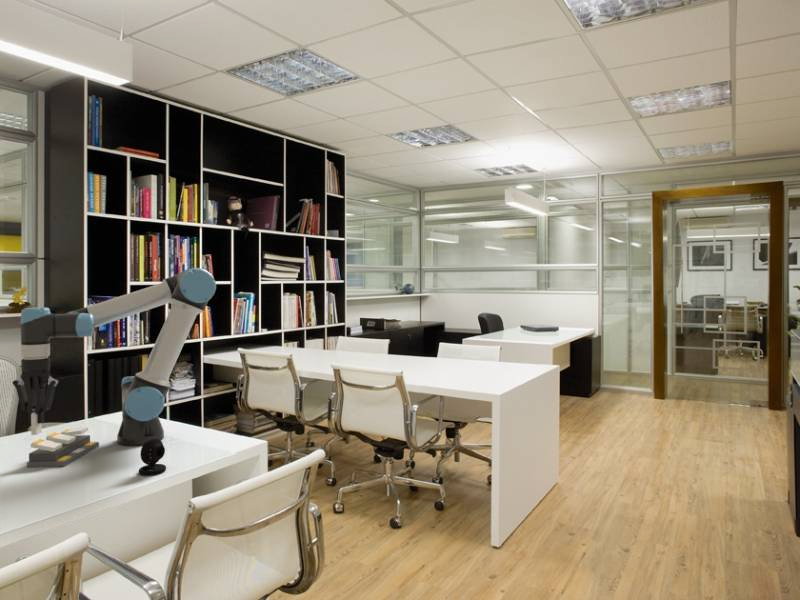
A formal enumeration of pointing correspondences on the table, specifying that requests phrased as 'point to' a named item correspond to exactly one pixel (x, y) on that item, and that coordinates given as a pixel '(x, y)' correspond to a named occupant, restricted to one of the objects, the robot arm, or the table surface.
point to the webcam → (152, 457)
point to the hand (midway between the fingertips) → (36, 433)
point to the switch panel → (63, 463)
